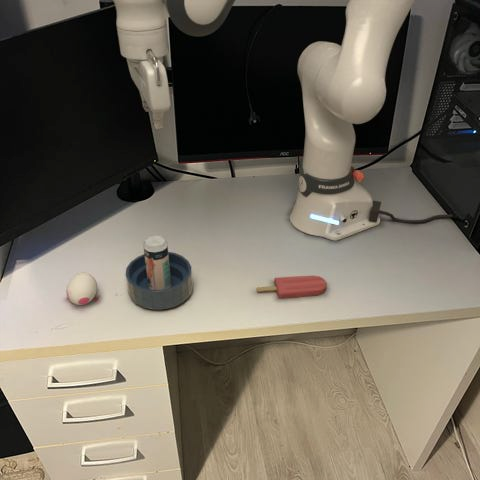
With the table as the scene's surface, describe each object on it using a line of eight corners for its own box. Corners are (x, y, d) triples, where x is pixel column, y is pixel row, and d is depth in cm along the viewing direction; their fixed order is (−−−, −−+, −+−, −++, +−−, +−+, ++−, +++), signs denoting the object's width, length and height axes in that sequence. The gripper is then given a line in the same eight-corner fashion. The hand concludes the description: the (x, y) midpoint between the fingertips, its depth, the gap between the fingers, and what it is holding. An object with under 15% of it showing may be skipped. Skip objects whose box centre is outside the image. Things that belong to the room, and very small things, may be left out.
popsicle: (254, 278, 110) (323, 273, 111) (254, 284, 111) (322, 279, 112) (258, 295, 106) (329, 289, 107) (258, 300, 107) (328, 295, 109)
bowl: (182, 266, 115) (180, 246, 111) (200, 303, 106) (199, 282, 102) (123, 279, 111) (119, 258, 107) (137, 318, 102) (133, 297, 98)
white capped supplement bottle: (149, 281, 109) (143, 233, 101) (171, 280, 110) (167, 233, 102) (148, 296, 106) (141, 248, 98) (171, 295, 106) (167, 247, 98)
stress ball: (81, 299, 111) (58, 279, 107) (109, 283, 108) (86, 261, 104) (74, 323, 105) (49, 302, 101) (103, 306, 102) (78, 284, 99)
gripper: (175, 57, 87) (182, 136, 97) (149, 27, 101) (157, 98, 111) (138, 61, 86) (148, 141, 95) (117, 30, 100) (128, 102, 109)
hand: (153, 118), depth 103 cm, fingers open, 8 cm apart
